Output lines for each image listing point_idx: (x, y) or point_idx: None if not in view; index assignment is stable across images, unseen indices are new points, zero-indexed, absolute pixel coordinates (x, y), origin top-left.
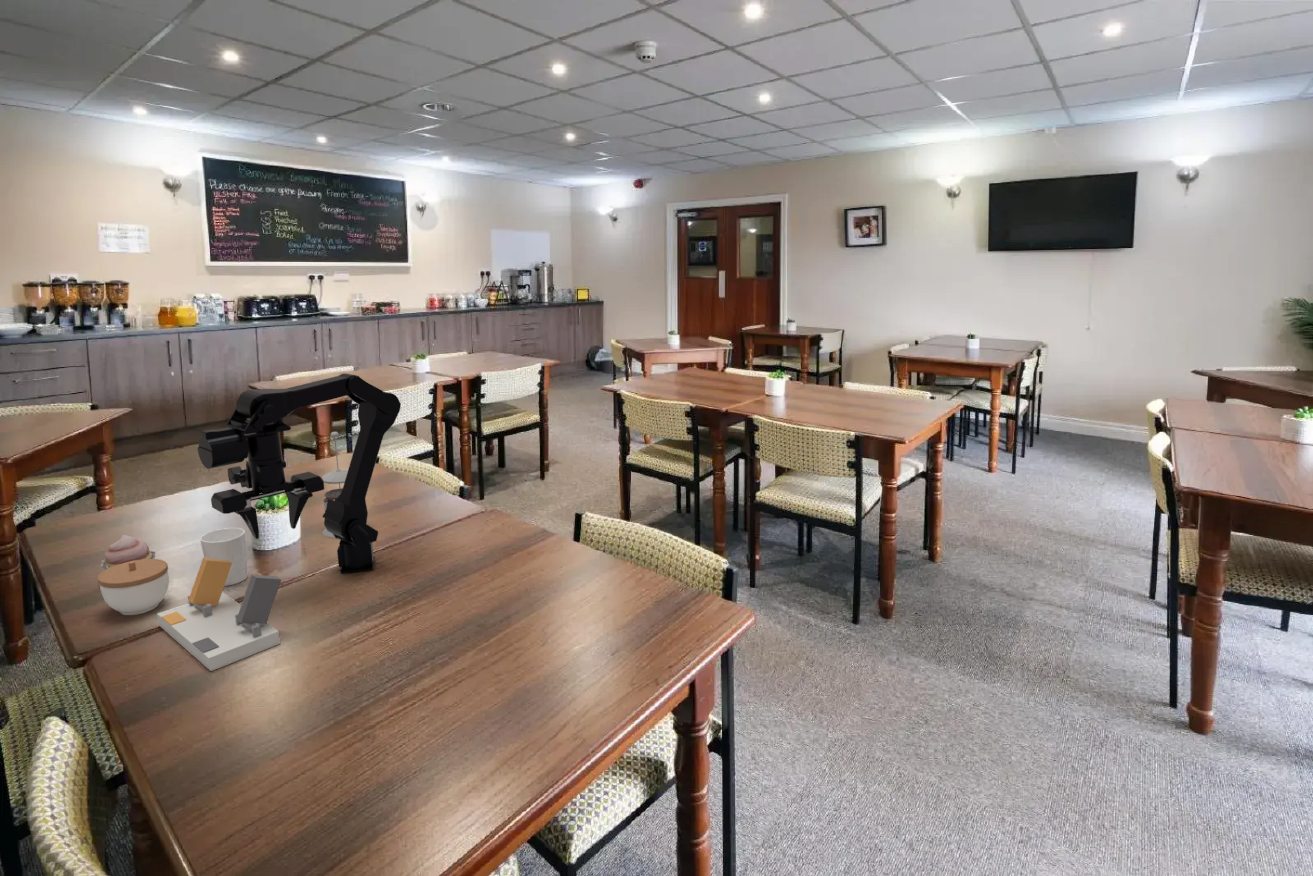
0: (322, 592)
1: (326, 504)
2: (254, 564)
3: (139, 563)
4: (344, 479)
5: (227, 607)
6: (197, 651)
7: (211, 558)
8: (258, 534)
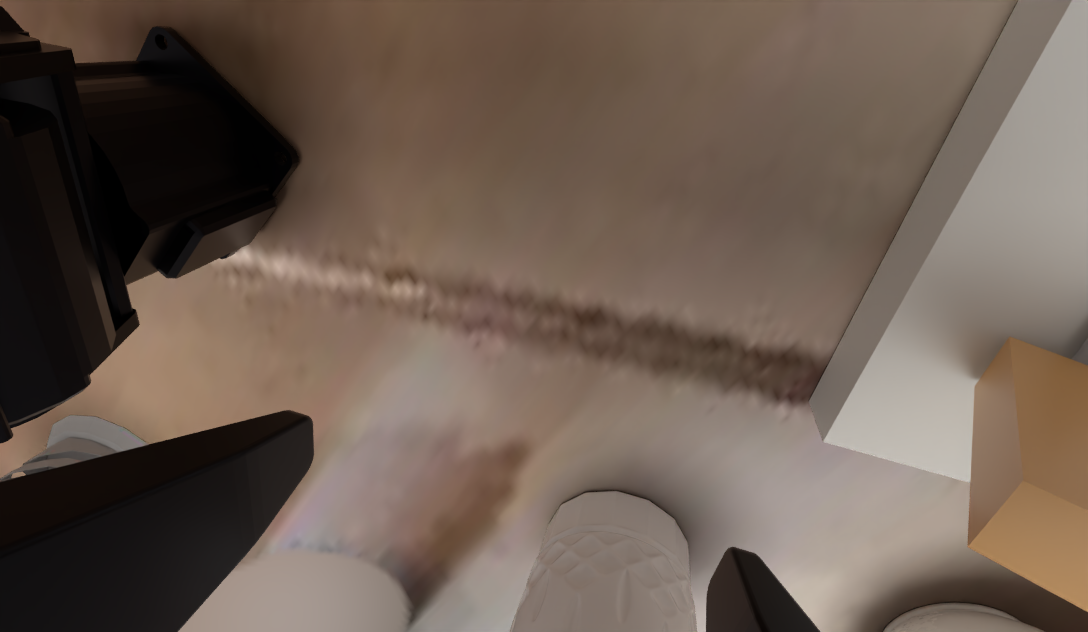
0: (485, 43)
1: None
2: (479, 550)
3: None
4: None
5: (1004, 268)
6: None
7: None
8: (755, 590)
